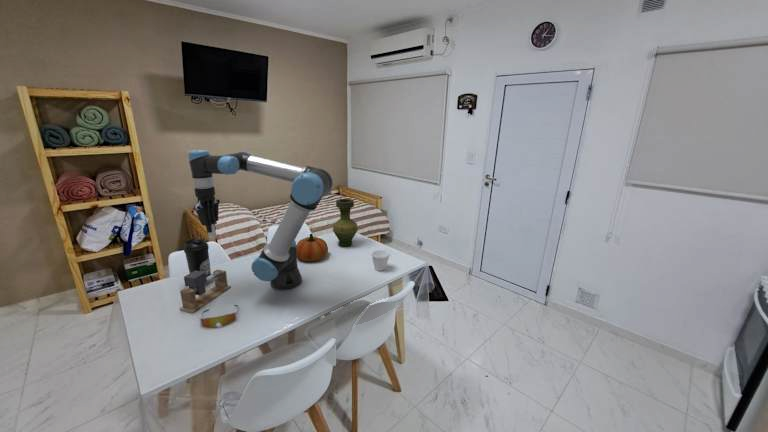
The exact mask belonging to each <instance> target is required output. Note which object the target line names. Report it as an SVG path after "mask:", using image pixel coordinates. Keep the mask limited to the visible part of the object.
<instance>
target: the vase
mask: <svg viewBox="0 0 768 432" xmlns="http://www.w3.org/2000/svg"><path fill="white" fill-rule="evenodd" d="M335 207H336V208H338V209H339V213H340V216H339V217H340V218H339V219H338V220H337V221H335V222H333V227H332V232H333V233H334V235H335V237H336V238H337V239H338V247H339V248H343V249H344V248H347V249H348V248H351V247H352V246H353V239H354V237H356V236H355V235H356V234H357V232H358V224H357V222H355V221H354V220H353V219H352V218H351V209H352V208H354V207H355V200H354V199H352V198H339V199H336V200H335Z"/></svg>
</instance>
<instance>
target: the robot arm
mask: <svg viewBox="0 0 768 432" xmlns="http://www.w3.org/2000/svg"><path fill="white" fill-rule="evenodd" d="M188 162H189V167H190V171H191V175H192V183H193V187H194V195H195V197H196V198H197V201H196V202H197V204H196V205H193V209H194V210H195V212H196V214H197V217H198V219H199V222H200V224H201V226H206V232H207V234H208V239H210V240H215V239H217V233H216V230H217V228H216V227H217V226H216V225H217V224H218V222H219V205H220V201H221V200H220V199H217V198H215V197H216V196H215V195H216V190H215V189H216V188H215V187H214V185H215V184H214V183H215V181H214V177H213V175H214V174H215V175H225V176H227V175H228V176H229V175H236V174H237V172H238V171H246V172H250V173H253V174H257V175H262V176H266V177H269V178H273V179H277V180H282V181H285V182H290V183H291V185H290V187H291V188H290V191H291V193H290V195H289V199H290V203H289V205H288V207H287V209H286V211H285V213H284V215H283V217H282V219H281V221H280V222H279V225H278V227H277V229H276V231H275V233H274V234H273V236H272V238H271V240H270V242H269V243H267V244H265V245H264V246H263V247H262V250H261V252H260V254H259V255H258V257H256V258H255V259H254V260H253V262H252V264H251V272H252V273H253V275H254V276H255V278H257V279H258V280H260V281H262V282H270V287H271V288H272V289H275V290H279V291H285V290H291V289H295V288H297V287H299V286H300V285H301V284H302V282H303V277H302V274H301V272H300V269H299V268H298V258H297V249H296V247H297V246H296V245H297V241H296V239H297V236H298V234H299V232H300V231H301V230H302V227H303V225H304V224H305V222H306V221H307V220H306V219H307V218H308V216H309V214H310V213H311V212H312V211H313V212H314V211H315V210H316V209H317V207H318V205H319V204H320V202H321V200H322V198H324V196H326V195H327V194H328V193H329V192H331V190H332V188H333V183H334V182H333V177H332V175H331V174H330V172H329V171H327V170H325V169H323V168H320V167H314V166H311V165H310V166H309V165H307V166H305V167H303V166H300V165H299V166H298V165H295V164H292V163H285V162H283V161H277V160H273V159H268V158H265V157H261V156H257V155H253V154H251V153H250V152H247V151H239V152H234V153H230V154H229V153H228V154H224V155H210V152H209V150H206V149H193V150H190V151H189V152H188Z"/></svg>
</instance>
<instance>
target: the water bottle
mask: <svg viewBox="0 0 768 432" xmlns="http://www.w3.org/2000/svg"><path fill="white" fill-rule="evenodd" d="M183 252H184V254H185V259H186V262H187V268H188V271H189V274H190V273H191V272H193V271H195V270H196V271H202V272H206V277H208V276H210V275H211V274H212V273H211V272H212V271H211V264H210V263H211V262H210V261H211V260H210V254H209V243H207V241H205V239H204V238H200V239H199V238H198V239H196V238H195V237H191V238H189V239H187V240H185V244H184V246H183Z"/></svg>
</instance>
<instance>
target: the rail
mask: <svg viewBox="0 0 768 432" xmlns="http://www.w3.org/2000/svg"><path fill="white" fill-rule="evenodd" d="M206 278H207V281H206V282H205V283H204V284H205V288H206V287H208V286H209V285H211V284H213V282H214V286H212V287H210V288H209V289H207V291H206V292H205V293H204V294H202V295H201V296H199V295H198V296H197V295H195V293H196V292H198V288H193V287H188V288H185V287H184V288H183V289H181V290H180V291H179V293H180V299H181V304H182V307H180V308H179V311H180V312H185V313H189V314H195V313H196V312H198V311H199V310H201V309H203V308H204V307H205V306H207V305H208V304H210V303H211V302H213V301H214V300H215V299H217V298H218V297H220V296H221V295H223V294H224V293H225V292H227V291H228V290H230V289H231V288H232V286H231V285H229V284H228V277H227V271H226V270H222V269H215V270H213V271H212V273H211V275H210V276H208V277H206ZM222 293H223V294H222ZM196 296H197V297H196Z"/></svg>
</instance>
